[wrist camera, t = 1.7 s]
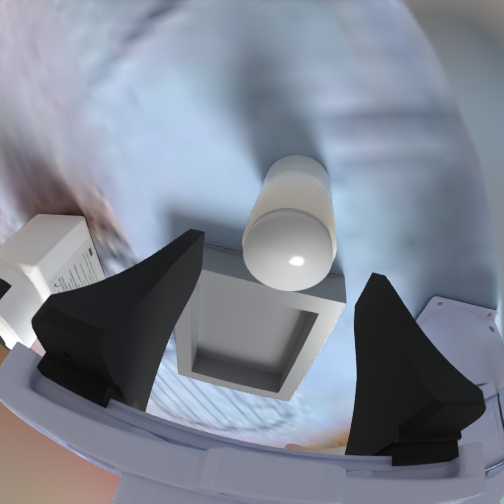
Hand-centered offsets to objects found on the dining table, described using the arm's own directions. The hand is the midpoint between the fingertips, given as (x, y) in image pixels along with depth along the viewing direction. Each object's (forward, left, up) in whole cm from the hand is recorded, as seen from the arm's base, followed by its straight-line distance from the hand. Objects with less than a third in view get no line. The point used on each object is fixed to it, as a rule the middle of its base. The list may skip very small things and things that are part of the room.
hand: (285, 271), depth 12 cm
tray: (+1, +15, -9) cm, 17 cm away
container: (+21, +11, -9) cm, 25 cm away
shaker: (0, 0, -9) cm, 9 cm away
